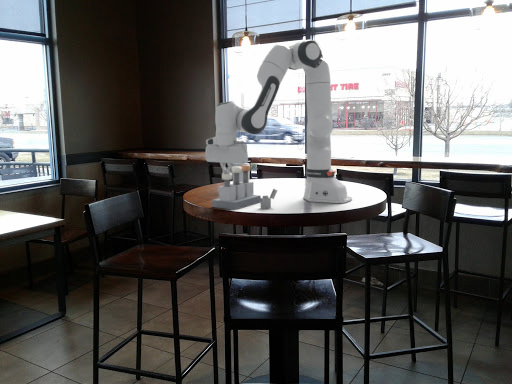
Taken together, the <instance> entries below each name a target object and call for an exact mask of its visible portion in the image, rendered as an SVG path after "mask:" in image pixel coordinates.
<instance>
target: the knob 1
mask: <svg viewBox="0 0 512 384" xmlns="http://www.w3.org/2000/svg"><path fill="white" fill-rule="evenodd" d="M221 180H222V181H223V180H224V182H223V183H224V185H223V186H224V187H230V184H231V180H233V173H232V172H231V173H230V174H227V173H223V172H222V173H221Z"/></svg>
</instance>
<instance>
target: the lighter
mask: <svg viewBox="0 0 512 384" xmlns="http://www.w3.org/2000/svg"><path fill="white" fill-rule="evenodd" d="M277 193H278V189H275V188H273V189H272V191H271V194H270V196H269V195H266V194H265V195H263V196H262V197H261V202H260V209H271V208H272V204H271V203H272V202H271V201H272V200H274V199H275V197H276V195H277Z"/></svg>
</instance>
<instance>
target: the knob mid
mask: <svg viewBox="0 0 512 384" xmlns="http://www.w3.org/2000/svg"><path fill="white" fill-rule="evenodd" d="M241 172H242V167H239V166H235V167H233V166H232V168H231V173H232V174H233V173H234V185H240V184H239V173H241Z"/></svg>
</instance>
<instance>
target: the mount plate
mask: <svg viewBox="0 0 512 384" xmlns="http://www.w3.org/2000/svg"><path fill="white" fill-rule="evenodd" d="M239 184H240V185H234V184H233V183H230V187H224V185H221V186H218V195H219V197H218V198H215V199H212V201H211V202H212V204H211V205H212V208H217V209H218V208H219V209H227V210H233V211H235V210H239V209H241V208H244V207H245V208H246V207H249V206H252V205H256V204H259V203H261V198H262V197H261V195H260V194H258V195H257V194H254V182H253V181H249V182H248V183H243V182H239Z"/></svg>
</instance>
